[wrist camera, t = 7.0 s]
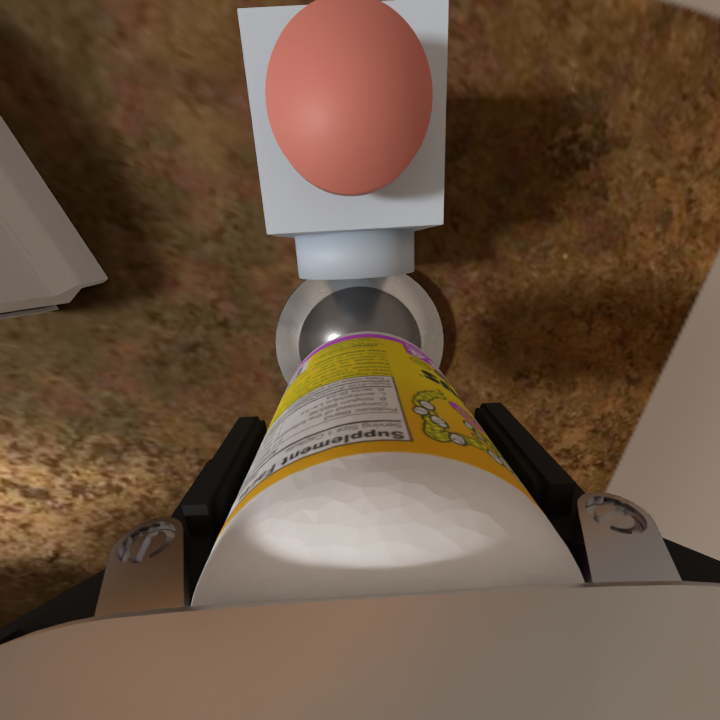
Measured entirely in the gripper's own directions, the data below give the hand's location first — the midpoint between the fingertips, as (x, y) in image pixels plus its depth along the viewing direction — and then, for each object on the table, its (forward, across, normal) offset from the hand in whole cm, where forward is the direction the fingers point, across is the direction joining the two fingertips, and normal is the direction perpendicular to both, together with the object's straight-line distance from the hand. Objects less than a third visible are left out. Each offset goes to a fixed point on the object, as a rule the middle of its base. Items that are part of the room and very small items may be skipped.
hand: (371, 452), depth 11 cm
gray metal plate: (+13, 0, 0) cm, 13 cm away
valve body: (+13, 0, -10) cm, 17 cm away
